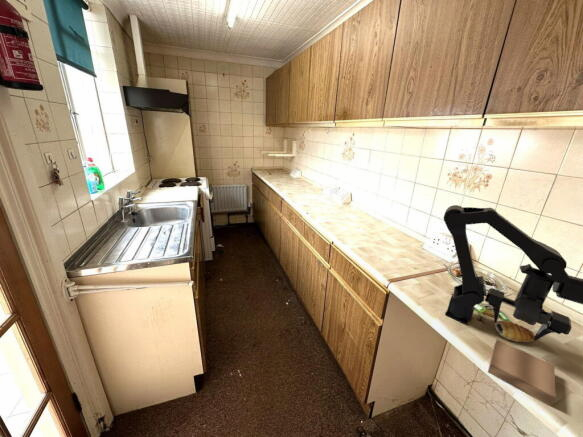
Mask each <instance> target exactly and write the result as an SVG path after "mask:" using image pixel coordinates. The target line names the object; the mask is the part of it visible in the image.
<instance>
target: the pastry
mask: <svg viewBox="0 0 583 437" xmlns="http://www.w3.org/2000/svg"><path fill="white" fill-rule="evenodd" d="M494 327H495V330H496V331H497V332H498V334H499V335H500V336H501V337H502V338H504V339H505V340H508V341H513V342H517V343H531V342H533V341H535V340H534V337H535V334H534V332H533V331H532V330H530V329H529V328H527V327H524V326H523V325H519V324H518V323H515V322H512V321H507V320H504V319H503V320H497V322H496V323H495V322H494Z"/></svg>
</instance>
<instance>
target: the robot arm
mask: <svg viewBox="0 0 583 437" xmlns="http://www.w3.org/2000/svg"><path fill="white" fill-rule="evenodd" d="M443 221H444V223H445V226H446V228H447V230H448V231H449V233H450V235H451V237H452V239H453V240H452V241H453V244H454V249H455V253H456V257H457V262H458V264H459V268H460V273H461V284H458V285H455V286H454V288H453V294H452V296H451V297H450V299H449V302H448V307H447V310H445V312H444V313H445V314H444V315H445V316H446V317H449V318H451V319H454V320H456V321H457V322H460V323H462V324H464V325H468V322H470V321H471V319H472V318H473V314H474V311H475V310H476V309H475V306H476V305H480V304H482V303H484V301H485V302H486V303H488V305H489V306H491V307H492V308H493V309H492V310H493V318H494V324H495V323H496V322H497V321H499V315H500V309H501V305H502V304H504V305H506V306H510V307H512V308H514V311H513V314H512V316H513V318H515V319H516V320H518V321H519V320H520V321H521V322H524V323H527V324H528V325H529V326H535V325H536V324H540V327H539V329H538V330H537V331H536V333H535V334H534V336H535V337H534V340H533V341H534V342H535V341H538V340H540V339H542V338H543V337H545V336H546V335H549V334H551V333H552V334H553V333H554V334H558V335H560V334H563V335H569V334H570V332H571V331H572V327H573V326H572V320H571V319H570V317H569V316H567V315H564V314H562V313H558V312H556V311H554V310H551V311H550V312H548V311H545V309H543V307H544V306H543V304H544V303H545V301H546V299H547V297H548V296H549V294H550V292H551V290H552V292H553V293H555V295H556V297H557V298H558V299H559V298H560V299H564V300H567V301H570V302H572V303H575V304H580V305H583V278H580V277H576V276H572V275H569V274H568V273H567V271H566V268H567V266H568V265H567V261H566V260H565V258H564V257H563V256H562V255H561V253H560V252H559V251H558V250H557V249H555V248H554V247H552V246H549V245H547V244H546V243H543V242H541V241H539V240H536V239H534V238H532V237H531V236H529V235H528V234H527V233H526V232H524V231H523V230H522V229H521V228H519V227H518V226H516V225H515V224H513V223H512V221H510V220H508V219H506V218H505V217H504V216H503V215H501V214H500V213H499V212H498V211H497V210H496V209H494V208H493V207H468V206H467V207H464V206H461V205H457V204H456V205H450V206H448V207H447V208H446V210H445V212H444V215H443ZM477 224H488V225H489V226H490V227H491V228H493V229H494V230H495V231H497V232H498V233H499V234H501V235H502V236H503V237H505V239H507V240H508V241H509V242H511V243H512V244H514V245H515V246H517V247H518V248H519V249H520V250H521V251H522V252H523V253H524V255H526V256H527V258H528V259H529V260H530V261H531V262H532V264H534V266H536V267H533V266H532V265H531V263H528V264H526V265H520V266H519V269H520V270H519V271H520V272H521V273H522V274H525V277H524V279H523V282H522V283H521V285H520V288H519V290H518V292H517V294H516V296H515V299H514V300H513V299H511V298H508V297H506V296H505V292H504V291H501V290H499V289H495V288H492V287H491V288H490V287H489V289H488V291H487V286H486V284H485V283H484V281H485V280H484V276H483V275H481V276H479V275H478V273H477V272H476V270H475V266H474V261H473V260H474V259H473V257H472V252H471V248H470V242H469V239H468V235H467V225H477Z"/></svg>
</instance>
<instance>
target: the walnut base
mask: <svg viewBox="0 0 583 437" xmlns="http://www.w3.org/2000/svg"><path fill="white" fill-rule="evenodd" d="M488 365H489V366H488V370H487V373H488V374H490V375H492V376H493V377H496V378H497V379H500V380H501V381H502V382H505V383H506V384H509V385H510V386H512V387H514V388H515V389H517V390H520V391H522V392H524V393H525V394H527V395H529V396H531V397H533V398H535V399H537V400H538V401H540V402H541V403H543V404H546V405H547V406H550V407H552V405H553V403H554V402H555V399H556V397H557V396H556V378H555V377H556V376H555V374H556V373H555V365H554V364H553V363H550V362H548V361H545V360H543V359H541V358H539V357H537V356H535V355H532V354H530V353H528V352H526V351H524V350H522V349H519V348H517V347H515V346H513V345H510V344H508V343H506V342H504V341H502V340H500V339H498V338H497V339H496V341H495V342H494V345H493V349H492V353H491V357H490V362H489V364H488Z"/></svg>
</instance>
